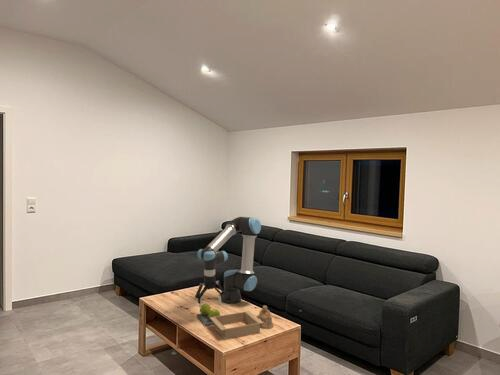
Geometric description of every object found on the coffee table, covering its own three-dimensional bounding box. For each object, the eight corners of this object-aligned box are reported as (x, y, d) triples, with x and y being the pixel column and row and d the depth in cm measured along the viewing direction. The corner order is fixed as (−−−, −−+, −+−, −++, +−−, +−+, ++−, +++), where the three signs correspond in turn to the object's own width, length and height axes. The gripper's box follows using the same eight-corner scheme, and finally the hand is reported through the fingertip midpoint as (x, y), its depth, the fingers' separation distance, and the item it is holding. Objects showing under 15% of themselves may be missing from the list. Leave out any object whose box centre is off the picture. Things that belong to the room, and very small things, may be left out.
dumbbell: (198, 315, 265) (198, 304, 264) (209, 312, 269) (209, 302, 269) (210, 322, 251) (210, 311, 251) (221, 320, 255) (221, 309, 255)
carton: (248, 319, 260) (248, 311, 260) (263, 332, 240) (263, 322, 240) (209, 326, 248) (209, 317, 248) (221, 340, 229) (221, 330, 229)
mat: (213, 313, 271) (213, 311, 271) (223, 323, 254) (223, 321, 254) (196, 316, 266) (196, 314, 266) (205, 326, 249) (205, 324, 249)
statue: (276, 305, 257) (273, 306, 248) (274, 328, 254) (272, 329, 244) (258, 304, 260) (254, 304, 251) (256, 326, 257) (253, 327, 247)
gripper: (225, 271, 267) (225, 301, 268) (189, 276, 257) (190, 307, 258) (229, 274, 260) (229, 305, 262) (193, 279, 250) (193, 311, 251)
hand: (210, 306), depth 260 cm, fingers open, 13 cm apart
